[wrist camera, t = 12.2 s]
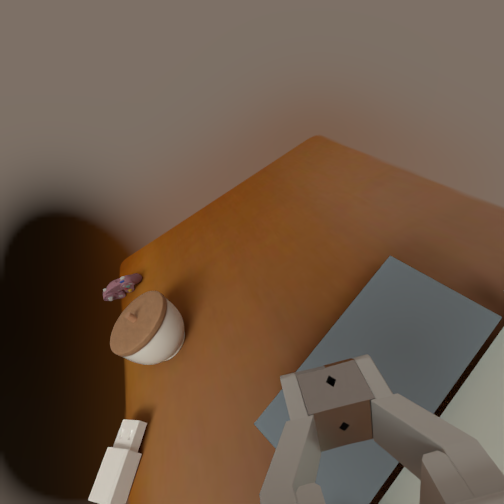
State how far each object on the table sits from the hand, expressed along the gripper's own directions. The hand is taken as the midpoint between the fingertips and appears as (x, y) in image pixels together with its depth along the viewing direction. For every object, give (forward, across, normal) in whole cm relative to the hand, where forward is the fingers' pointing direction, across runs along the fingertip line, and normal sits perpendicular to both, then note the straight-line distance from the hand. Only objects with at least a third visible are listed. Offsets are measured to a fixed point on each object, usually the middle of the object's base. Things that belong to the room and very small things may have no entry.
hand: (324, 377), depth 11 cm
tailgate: (+11, +11, -23) cm, 28 cm away
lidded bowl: (+44, -20, -33) cm, 59 cm away
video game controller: (+70, -34, -34) cm, 85 cm away
